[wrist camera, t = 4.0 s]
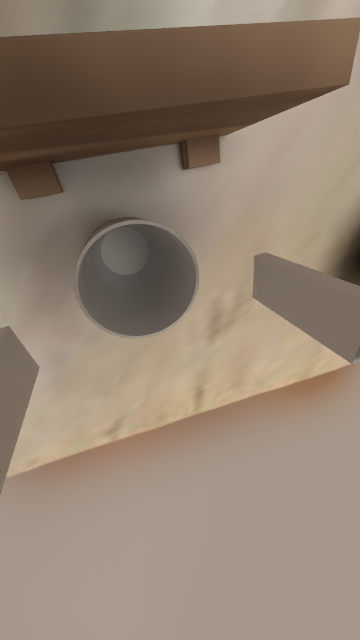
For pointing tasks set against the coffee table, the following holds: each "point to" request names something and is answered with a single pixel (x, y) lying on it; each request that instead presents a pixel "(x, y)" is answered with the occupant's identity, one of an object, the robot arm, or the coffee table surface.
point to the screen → (156, 89)
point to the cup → (136, 277)
